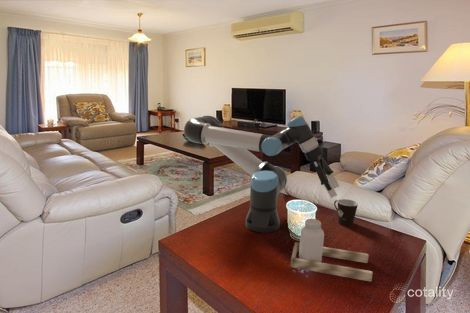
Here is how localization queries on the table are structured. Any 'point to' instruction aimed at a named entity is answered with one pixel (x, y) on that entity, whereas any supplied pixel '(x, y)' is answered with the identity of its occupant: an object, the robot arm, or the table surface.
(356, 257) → the cradle
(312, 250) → the pill bottle
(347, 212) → the coffee mug
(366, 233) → the table surface
